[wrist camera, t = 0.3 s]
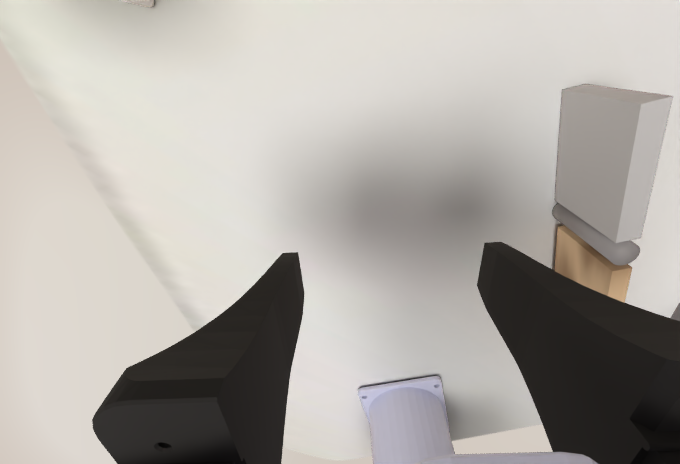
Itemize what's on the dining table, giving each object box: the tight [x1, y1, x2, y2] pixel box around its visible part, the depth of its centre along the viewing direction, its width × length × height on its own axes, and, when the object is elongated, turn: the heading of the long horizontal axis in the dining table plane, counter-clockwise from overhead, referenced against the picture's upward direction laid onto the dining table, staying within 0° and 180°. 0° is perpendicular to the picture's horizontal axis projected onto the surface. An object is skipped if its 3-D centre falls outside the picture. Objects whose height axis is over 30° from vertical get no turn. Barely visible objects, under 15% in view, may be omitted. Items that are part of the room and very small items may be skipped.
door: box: [554, 225, 632, 302], centre depth 22 cm, size 12×3×5 cm, turn 15°
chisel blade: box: [552, 84, 673, 266], centre depth 18 cm, size 9×1×6 cm, turn 15°
